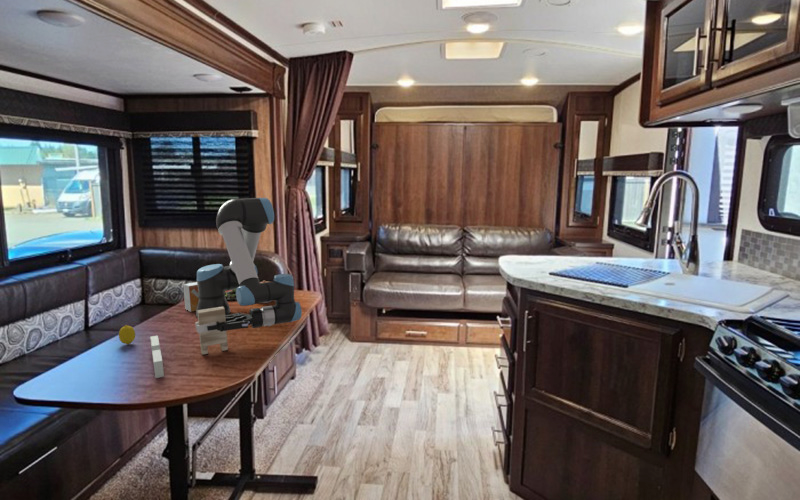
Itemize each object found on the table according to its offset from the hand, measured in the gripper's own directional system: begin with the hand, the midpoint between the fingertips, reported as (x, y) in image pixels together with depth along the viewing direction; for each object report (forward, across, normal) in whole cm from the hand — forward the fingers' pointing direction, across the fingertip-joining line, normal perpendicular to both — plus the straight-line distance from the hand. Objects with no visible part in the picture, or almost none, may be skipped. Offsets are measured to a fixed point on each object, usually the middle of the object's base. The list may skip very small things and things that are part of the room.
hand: (196, 327), depth 166 cm
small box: (-6, +64, -11) cm, 65 cm away
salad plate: (-26, +78, -11) cm, 83 cm away
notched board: (+14, 0, -10) cm, 17 cm away
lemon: (+23, +26, -11) cm, 36 cm away
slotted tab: (-5, 0, -10) cm, 11 cm away
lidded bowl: (-39, +60, -11) cm, 73 cm away
